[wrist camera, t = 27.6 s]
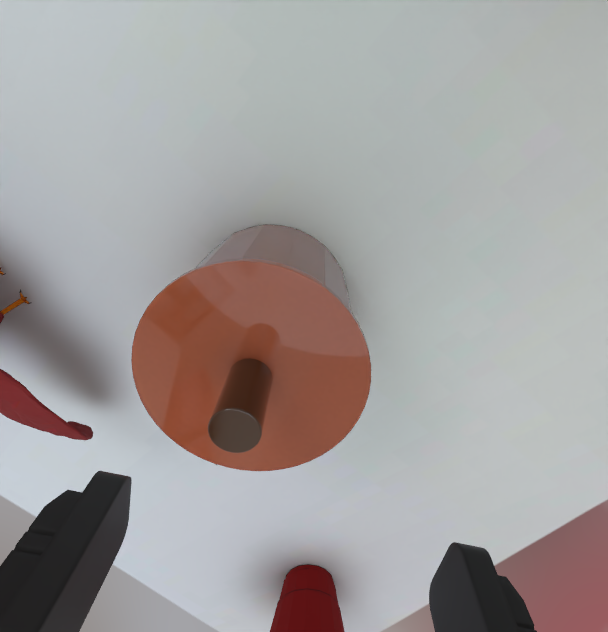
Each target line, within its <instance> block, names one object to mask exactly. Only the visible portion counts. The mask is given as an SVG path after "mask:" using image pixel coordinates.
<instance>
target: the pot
mask: <svg viewBox="0 0 608 632" xmlns="http://www.w3.org/2000/svg"><path fill="white" fill-rule="evenodd" d="M241 258H250V259H263V260H268V261H273V262H278V263H282V264H285V265H288V266H290V267H293V268H296V269H298V270H300V271H302V272H305V273H307V274H309V275H311V276H312V277H314V278H316V279H317V280H319V281H320V282H322V283H323V284H325V285H326V286H327V287H328V288H330V289H331V290H332V291H333V292H334V293H335V294H336V295H338V296H339V298H340V299H341V300H342V301H343V302H344V303H345V304H346V305H347V307H348V308H349V309H350V311H351V306H350V300H349V295H348V291H347V287H346V282H345V278H344V274H343V270H342V268H341V267H340V266H339V264H338V262H337V261H336V259H335V258H334V256H333V255H332V254H331V253H330V251H329V250H328V249H327V248H326V247H325V246H324V245H323V244H322V243H320V242H319V241H318V240H316V239H315V238H313V237H312V236H310V235H308V234H306V233H304V232H302V231H300V230H298V229H294V228H291V227H286V226H282V225H259V226H254V227H250V228H247V229H244V230H241V231H238V232H235V233H233V234H232V235H231V236H230V237H228V238H227V239H226V240H224V241H223V242H222V243H221V244H220V245H218V246H217V247H216V248H215V249H213V250H212V251H211V252H210V253H209V254H208V255H207V256H206V257H205V258H204V259H203V260H202V261H201V262H200V263H199V264H198V265H197V266H196V267H195V268H197V267H200V266H203V265H206V264H209V263H212V262H216V261H222V260H227V259H241ZM195 268H194V269H195Z"/></svg>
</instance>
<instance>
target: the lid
mask: <svg viewBox="0 0 608 632" xmlns="http://www.w3.org/2000/svg"><path fill="white" fill-rule="evenodd" d="M132 370H133V377H134V381H135V385H136V389H137V391H138V394H139V396H140V399H141V401H142V403H143V405H144V406H145V408H146V410H147V412H148V413H149V415H150V416H151V418H152V419H153V420H154V422H155V423H156V424H157V425H158V426H159V427H160V429H161V430H162V431H163V432H164V433H165V434H166V435H167V436H169V437H170V438H171V439H172V440H173V441H174V442H176V443H177V444H178V445H180V446H181V447H183V448H184V449H186V450H187V451H189V452H191V453H192V454H194V455H196V456H198V457H200V458H202V459H205V460H207V461H209V462H212V463H215V464H218V465H221V466H225V467H229V468H234V469H239V470H249V471H272V470H279V469H285V468H290V467H294V466H298V465H300V464H303V463H306V462H309V461H311V460H313V459H315V458H317V457H319V456H321V455H323V454H324V453H326V452H327V451H329V450H330V449H332V448H333V447H334V446H336V445H337V444H338V443H339V442H340V441H341V440H343V439H344V437H345V436H346V435H347V434H348V433H349V432H350V431H351V430H352V428H353V427H354V425H355V424H356V422H357V421H358V419H359V418H360V416H361V413H362V411H363V409H364V407H365V405H366V401H367V398H368V395H369V390H370V383H371V363H370V357H369V351H368V347H367V343H366V340H365V337H364V334H363V332H362V330H361V328H360V326H359V323H358V321H357V320H356V318H355V317H354V315H353V314H352V312H351V311H350V309H349V308H348V307H347V305H346V304H345V303H344V302H343V301H342V300H341V299H340V298H339V296H338V295H336V294H335V293H334V292H333V291H332V290H331V289H330V288H328V287H327V286H326V285H325V284H323V283H322V282H320V281H319V280H317V279H316V278H314V277H312V276H311V275H309V274H307V273H305V272H302V271H300V270H298V269H296V268H293V267H290V266H288V265H285V264H282V263H278V262H273V261H268V260H263V259H250V258H241V259H227V260H222V261H216V262H212V263H209V264H206V265H203V266H200V267H197V268H195V269H193V270H191V271H189V272H187V273H185V274H183V275H181V276H180V277H178V278H177V279H175V280H174V281H173V282H171V283H170V284H169V285H168V286H167V287H166V288H164V289H163V290H162V291H161V292H160V293H159V294H158V295H157V296H156V297H155V298H154V300H153V301H152V302H151V303H150V305H149V306H148V307H147V309H146V311H145V312H144V314H143V316H142V318H141V319H140V322H139V324H138V327H137V330H136V332H135V336H134V341H133V346H132Z"/></svg>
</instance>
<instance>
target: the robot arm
mask: <svg viewBox="0 0 608 632" xmlns="http://www.w3.org/2000/svg"><path fill="white" fill-rule="evenodd" d="M130 494H131V477H128V476H123V475H118V474H113V473H108V472H103V471H98V472H97V473H96V474H95V475H94V476H93V478H92V479H91V481H90V482H89V484H88V485H87V487H86V488H85V490H84V491H83V493H81V492H76V491H71V490H67V491H65V492H64V493H63V494H61V495H60V496H58V497H57V498H56V499H54V500H53V501H51V502H50V503H49V504H47V505H46V506H45V507H44V508H43V510H42V511H41V512H40V514H39V515H38V516H37V518H36V519H35V521H34V522H33V523H32V525H31V526H30V527H29V530H28V532H26V533H25V534H24V535H23V537H22V538H21V539H20V540H19V542H18V543H17V545H16V547H15V549H14V550H12V551H11V552H10V554H9V555H8V556H7V558H6V559H5V561H4V562H3V563H2V565H1V566H0V632H79V631H80V629H81V626H82V625H83V623H84V620H85V618H86V616H87V614H88V612H89V610H90V608H91V606H92V604H93V602H94V600H95V598H96V596H97V594H98V592H99V590H100V588H101V586H102V584H103V582H104V580H105V578H106V576H107V574H108V572H109V570H110V567H111V566H112V564H113V561H114V559H115V557H116V555H117V553H118V551H119V549H120V547H121V545H122V542H123V539H124V537H125V533H126V530H127V526H128V520H129V507H130ZM429 604H430V611H431V615H432V619H433V624H434V628H435V632H537V631H536V630H534V624H533V621H532V619H531V617H530V615H529V612H528V610H527V607H526V605H525V603H524V600H523V599H522V598H521V596H520V595H519V594H518V592H517V591H516V589H515V588H514V587H513V586H512V584H511V583H510V581H509V580H508V579H507V578H506V577H503V576H499V575H497V572H496V570H495V567H494V565H493V562H492V560H491V557H490V555H489V553H488V552H487V550H486V549H484V548H480V547H475V546H470V545H465V544H460V543H452V544H451V545H450V546H449V548H448V550H447V552H446V554H445V556H444V558H443V560H442V562H441V564H440V566H439V568H438V570H437V572H436V573H435V575H434V577H433V579H432V582H431V585H430V592H429Z"/></svg>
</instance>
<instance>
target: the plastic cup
mask: <svg viewBox="0 0 608 632" xmlns="http://www.w3.org/2000/svg"><path fill="white" fill-rule="evenodd" d="M270 632H344V628H343V622H342V617H341V611H340V608H339V605H338V600H337V595H336V589H335V585H334V582H333V579H332V576H331V574H330V573H329V572H327V571H326V570H325V569H323V568H321V567H319V566H315V565H301V566H297V567H295V568H293V569H291V570H290V572H289V573H288V574H287V575H286V579H285V580H284V584H283V588H282V592H281V596H280V600H279V601H278V604H277V608H276V611H275V615H274V619H273V622H272V626H271V630H270Z"/></svg>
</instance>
